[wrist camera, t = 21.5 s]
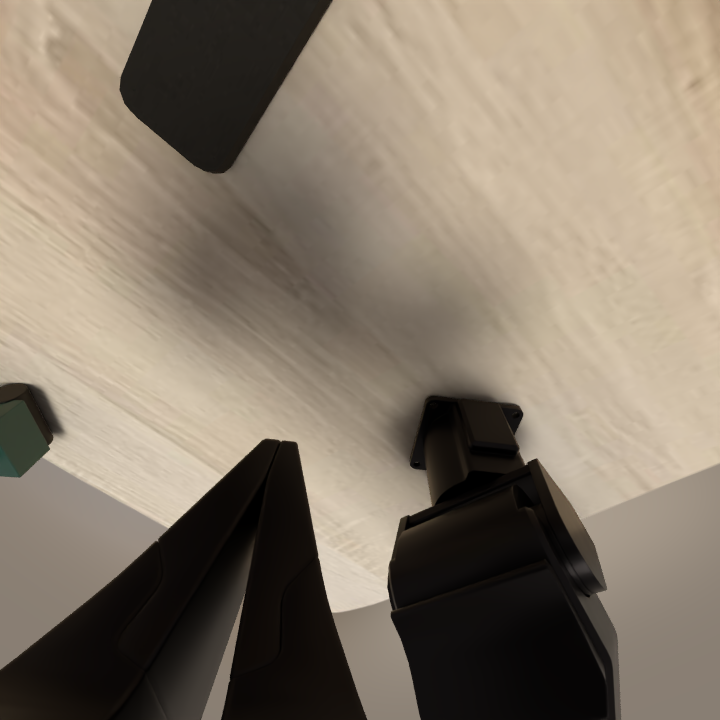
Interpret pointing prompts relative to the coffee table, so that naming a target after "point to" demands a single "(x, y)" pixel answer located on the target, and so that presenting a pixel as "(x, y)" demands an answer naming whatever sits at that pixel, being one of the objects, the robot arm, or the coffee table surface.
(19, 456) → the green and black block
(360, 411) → the coffee table surface
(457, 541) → the robot arm
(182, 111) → the remote control
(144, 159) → the coffee table surface
